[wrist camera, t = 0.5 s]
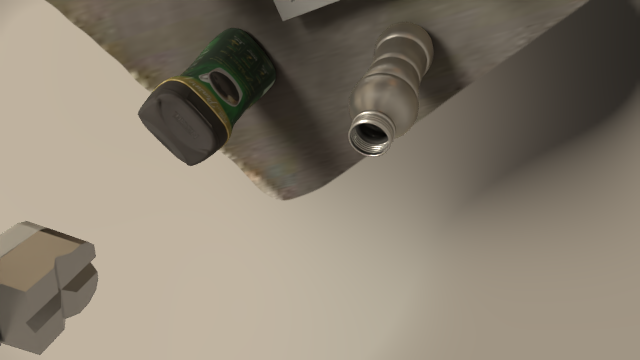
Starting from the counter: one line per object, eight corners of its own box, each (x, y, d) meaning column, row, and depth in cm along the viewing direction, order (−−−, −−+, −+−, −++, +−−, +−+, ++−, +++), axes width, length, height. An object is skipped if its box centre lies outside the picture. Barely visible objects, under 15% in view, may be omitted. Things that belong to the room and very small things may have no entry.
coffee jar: (204, 47, 59) (118, 117, 46) (239, 16, 55) (155, 84, 42) (250, 101, 63) (183, 180, 50) (287, 76, 58) (223, 156, 45)
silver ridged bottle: (394, 5, 48) (347, 91, 34) (447, 33, 48) (423, 130, 34) (370, 53, 52) (320, 147, 38) (419, 78, 52) (387, 181, 38)
